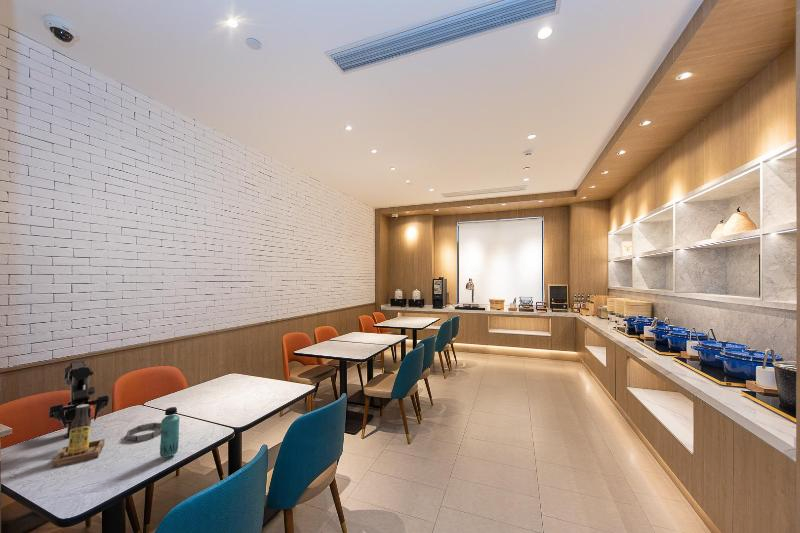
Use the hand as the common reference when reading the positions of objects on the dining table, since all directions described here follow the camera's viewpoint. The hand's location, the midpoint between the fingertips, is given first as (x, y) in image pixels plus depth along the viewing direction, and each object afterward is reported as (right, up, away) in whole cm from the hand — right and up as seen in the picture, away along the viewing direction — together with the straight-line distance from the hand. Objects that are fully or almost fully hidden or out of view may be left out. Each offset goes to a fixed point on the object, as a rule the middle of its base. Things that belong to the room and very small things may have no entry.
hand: (80, 423), depth 138 cm
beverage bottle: (+43, -11, -6) cm, 45 cm away
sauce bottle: (+5, -10, -5) cm, 13 cm away
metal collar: (+18, -12, +13) cm, 25 cm away
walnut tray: (+5, -11, -5) cm, 13 cm away
